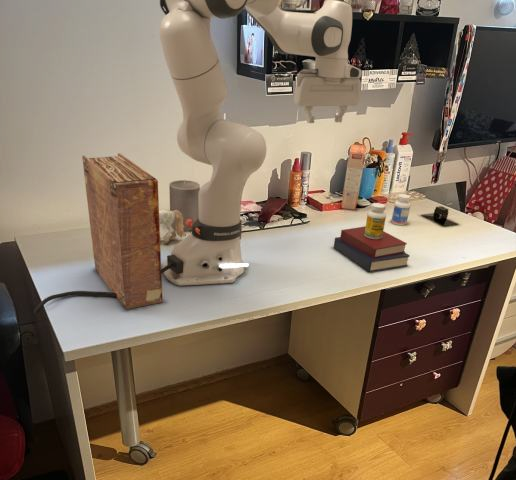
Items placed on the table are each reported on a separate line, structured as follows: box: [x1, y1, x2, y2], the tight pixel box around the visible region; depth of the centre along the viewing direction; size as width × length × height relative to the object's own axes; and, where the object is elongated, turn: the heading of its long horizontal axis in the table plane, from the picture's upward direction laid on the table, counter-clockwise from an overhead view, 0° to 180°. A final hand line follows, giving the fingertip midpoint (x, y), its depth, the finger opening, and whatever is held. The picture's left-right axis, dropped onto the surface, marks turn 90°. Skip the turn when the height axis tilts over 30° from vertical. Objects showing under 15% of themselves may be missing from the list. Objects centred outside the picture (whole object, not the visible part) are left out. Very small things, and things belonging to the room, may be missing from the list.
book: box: [81, 152, 163, 310], centre depth 129 cm, size 25×9×30 cm, turn 31°
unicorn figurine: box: [159, 209, 187, 245], centre depth 159 cm, size 7×20×13 cm, turn 117°
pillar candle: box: [168, 179, 201, 232], centre depth 172 cm, size 10×10×15 cm
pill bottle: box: [391, 193, 411, 226], centre depth 188 cm, size 6×5×10 cm
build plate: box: [420, 205, 459, 228], centre depth 195 cm, size 12×7×5 cm, turn 26°
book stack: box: [333, 225, 411, 273], centre depth 161 cm, size 14×19×6 cm
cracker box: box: [340, 144, 367, 211], centre depth 200 cm, size 14×6×21 cm, turn 168°
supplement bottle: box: [364, 202, 387, 240], centre depth 157 cm, size 5×5×10 cm
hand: (324, 122), depth 155 cm, fingers open, 8 cm apart
